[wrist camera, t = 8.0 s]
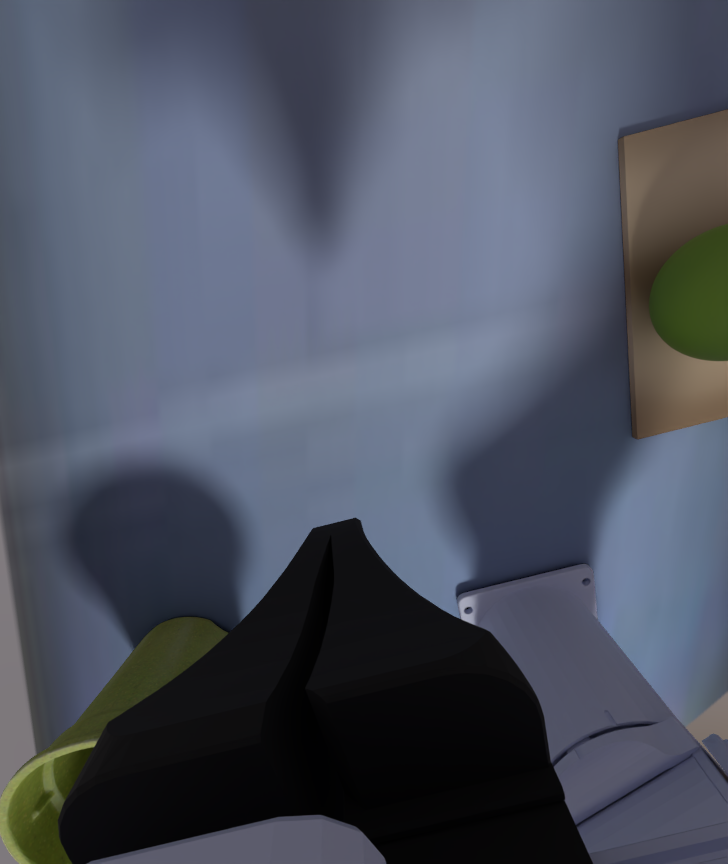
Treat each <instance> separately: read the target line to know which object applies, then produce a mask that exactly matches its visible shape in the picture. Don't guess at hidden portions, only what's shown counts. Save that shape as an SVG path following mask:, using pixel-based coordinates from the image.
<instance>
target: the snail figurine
mask: <svg viewBox="0 0 728 864" xmlns="http://www.w3.org/2000/svg"><path fill="white" fill-rule="evenodd" d="M649 313H650V318H651V321H652V324H653V326H654V328H655V330H656V332H657V333H658V335H659V336H660V337H661V339H662V340H663V341H664V342H665V343H666V344H668V345H669V346H670V347H671V348H673V349H674V350H676V351H678V352H680V353H682V354H684V355H687V356H689V357H692V358H696V359H701V360H707V361H728V224H725V225H721V226H718V227H715V228H713V229H710V230H708V231H706V232H704V233H702V234H700V235H698V236H696V237H694V238H693V239H691V240H690V241H688V242H687V243H685V244H684V245H683V246H681V247H680V248H679V249H678V250H677V251H676V252H675V253H674V254H673V255H672V256H671V257H670V258H669V259H668V260H667V261H666V262H665V264H664V265H663V266H662V268H661V269H660V271H659V272H658V274H657V276H656V278H655V280H654V283H653V285H652V288H651V292H650V297H649Z"/></svg>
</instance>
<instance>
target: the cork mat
mask: <svg viewBox="0 0 728 864" xmlns="http://www.w3.org/2000/svg"><path fill="white" fill-rule="evenodd" d="M618 150H619V171H620V191H621V212H622V233H623V253H624V274H625V294H626V315H627V335H628V356H629V377H630V397H631V418H632V437H633V438H635V439H641V438H645V437H649V436H654V435H658V434H662V433H666V432H670V431H674V430H678V429H682V428H686V427H690V426H694V425H698V424H702V423H706V422H710V421H714V420H718V419H722V418H726V417H728V361H707V360H701V359H696V358H692V357H689V356H687V355H684V354H682V353H680V352H678V351H676V350H674V349H673V348H671V347H670V346H669V345H668V344H666V343H665V342H664V341H663V340H662V339H661V337H660V336H659V335H658V333H657V332H656V330H655V328H654V326H653V324H652V321H651V318H650V313H649V297H650V292H651V288H652V285H653V283H654V280H655V278H656V276H657V274H658V272H659V271H660V269H661V268H662V266H663V265H664V264H665V262H666V261H667V260H668V259H669V258H670V257H671V256H672V255H673V254H674V253H675V252H676V251H677V250H678V249H679V248H680V247H681V246H683V245H684V244H685V243H687V242H688V241H690V240H691V239H693V238H694V237H696V236H698V235H700V234H702V233H704V232H706V231H708V230H710V229H713V228H715V227H718V226H721V225H725V224H728V109H727V110H723V111H719V112H716V113H712V114H708V115H704V116H700V117H697V118H693V119H689V120H685V121H681V122H677V123H674V124H670V125H666V126H662V127H658V128H655V129H651V130H647V131H643V132H639V133H635V134H632V135H628V136H624V137H622V138H620V139H619V140H618Z"/></svg>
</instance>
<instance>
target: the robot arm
mask: <svg viewBox="0 0 728 864" xmlns="http://www.w3.org/2000/svg"><path fill="white" fill-rule="evenodd" d="M585 578H586V580H585V581H583V579H585ZM457 604H458V609H459V613H460V618H461V619H459V618H456V617H454V616H453V615H451V614H449V613H447V612H445V611H443V610H442V609H440V608H439V607H437V606H436V605H434V604H433V603H431V602H430V601H428V600H426V599H425V598H423V597H422V596H420V595H419V594H418V593H417V592H415V591H414V590H413V589H411V588H410V587H409V586H408V585H407V584H406V583H404V582H403V581H402V580H401V579H400V578H399V577H398V576H397V575H396V574H395V573H394V572H393V571H392V570H391V569H390V568H389V567H388V566H387V565H386V564H385V562H384V561H383V560H382V559H381V558H380V557H379V555H378V554H377V553H376V551H375V550H374V548H373V547H372V546H371V544H370V543H369V541H368V540H367V538H366V536H365V534H364V531H363V528H362V524H361V521H360V520H359V519H357V518H352V519H348V520H344V521H340V522H336V523H332V524H328V525H324V526H320V527H316V528H313V529H312V530H311V532H310V533H309V535H308V536H307V538H306V539H305V541H304V543H303V544H302V546H301V547H300V549H299V550H298V552H297V553H296V555H295V556H294V558H293V559H292V561H291V562H290V563H289V565H288V566H287V568H286V569H285V571H284V572H283V573H282V575H281V576H280V577H279V578H278V580H277V581H276V582H275V584H274V585H273V586H272V587H271V589H270V590H269V591H268V593H267V594H266V595H265V596H264V597H263V599H262V600H261V601H260V602H259V603H258V604H257V605H256V606H255V608H254V609H253V610H252V611H251V612H250V613H249V614H248V615H247V616H246V617H245V618H244V619H243V620H242V621H241V622H240V623H239V624H238V625H237V626H236V627H235V628H234V629H233V630H232V631H231V632H230V633H228V634H227V635H226V636H225V637H224V638H223V639H222V640H221V641H220V642H218V643H217V644H216V645H215V646H214V647H213V648H212V649H211V650H210V651H208V652H207V653H206V654H205V655H204V656H202V657H201V658H200V659H199V660H197V661H196V662H195V663H194V664H192V665H191V666H190V667H189V668H187V669H186V670H185V671H183V672H182V673H181V674H179V675H178V676H177V677H175V678H174V679H173V680H171V681H170V682H168V683H167V684H166V685H164V686H163V687H161V688H160V689H159V690H157V691H156V692H154V693H152V694H151V695H149V696H148V697H146V698H145V699H143V700H142V701H140V702H139V703H137V704H136V705H134V706H133V707H131V708H130V709H128V710H126V711H125V712H123V713H122V714H120V715H119V716H117V717H115V718H114V719H112V720H111V721H109V722H108V723H107V725H106V727H105V728H104V730H103V732H102V734H101V736H100V737H99V739H98V741H97V743H96V745H95V747H94V748H93V750H92V752H91V754H90V756H89V758H88V759H87V761H86V763H85V765H84V767H83V769H82V770H81V772H80V774H79V776H78V778H77V780H76V781H75V783H74V785H73V787H72V789H71V791H70V792H69V794H68V796H67V798H66V800H65V802H64V803H63V806H62V809H61V812H60V815H59V818H58V831H59V839H60V842H61V844H62V846H63V848H64V850H65V852H66V854H67V856H68V858H69V860H70V861H71V862H72V864H728V740H727V739H725V740H722V739H721V738H720V737H719V736H718V735H716V734H711V735H710V736H709V737H707V738H706V739H704V740H702V742H703V744H704V745H705V746H706V748H707V749H708V750H709V752H710V753H711V754H712V755H713V757H714V758H715V759H716V760H717V762H718V763H719V764H720V765H719V764H718V763H717V762H716V761H715V760H714V759H713V758H712V757H711V755H710V754H709V753H708V752H707V751H706V750H705V749H704V748H703V747H702V745H701V744H700V743H699V742H698V741H697V740H696V739H695V738H694V737H693V735H692V734H691V733H690V732H689V731H688V730H687V729H686V728H685V727H684V726H683V724H682V723H681V722H680V721H679V720H678V719H677V718H676V716H675V715H674V714H673V713H672V712H671V710H670V709H669V708H668V707H667V705H666V704H665V703H664V702H663V700H662V699H661V698H660V697H659V695H658V694H657V693H656V692H655V690H654V689H653V688H652V687H651V685H650V684H649V683H648V682H647V681H646V679H645V678H644V677H643V676H642V674H641V673H640V672H639V671H638V669H637V668H636V667H635V666H634V664H633V663H632V662H631V661H630V659H629V658H628V657H627V656H626V655H625V653H624V652H623V651H622V650H621V648H620V647H619V646H618V645H617V643H616V642H615V641H614V640H613V638H612V637H611V636H610V635H609V633H608V632H607V631H606V630H605V629H604V627H603V626H602V625H601V624H600V622H599V621H598V617H597V606H596V595H595V583H594V572H593V570H592V569H591V567H590V566H589V565H587V564H580V565H576V566H572V567H567V568H563V569H559V570H555V571H551V572H547V573H543V574H539V575H535V576H531V577H527V578H522V579H518V580H514V581H510V582H506V583H502V584H498V585H494V586H490V587H486V588H481V589H477V590H473V591H469V592H465V593H462V594H460V595H459V596H458V598H457ZM467 607H470V608H469V609H467V610H465V608H467ZM722 768H723V769H724V770H723V769H722Z"/></svg>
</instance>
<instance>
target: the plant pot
mask: <svg viewBox="0 0 728 864" xmlns="http://www.w3.org/2000/svg"><path fill="white" fill-rule="evenodd" d="M227 634H228V632H226V631H224V630H222V629H221V628H219V627H218V626H217V625H215V624H214V623H213V622H212V621H211V620H208V619H204V618H199V617H179V618H174V619H171V620H167V621H165V622H163V623H160V624H159V625H157V626H156V627H155V628H153V629H152V630H151V631H150V632H149V633H148V634H147V635H146V636H145V637H144V638H143V639H142V641H141V642H140V643H139V644H138V646H137V647H136V648H135V649H134V650H133V652H132V653H131V654H130V656H129V657H128V658H127V659H126V661H125V662H124V663H123V665H122V666H121V667H120V668H119V670H118V671H117V672H116V673H115V675H114V676H113V677H112V678H111V680H110V681H109V682H108V683H107V685H106V686H105V687H104V688H103V690H102V691H101V692H100V693H99V694H98V696H97V697H96V698H95V699H94V701H93V702H92V703H91V704H90V706H89V707H88V708H87V709H86V710H85V712H84V713H83V714H82V715H81V717H80V718H79V719H78V720H77V722H76V723H75V724H74V725H73V726H72V727H70V728H69V729H67V730H66V731H65V732H64V733H62V734H61V735H60V736H59V737H58V738H57V739H56V740H55V741H54V742H53V743H52V745H51V746H50V747H49V748H47V749H46V750H44V751H42V752H40V753H39V754H37V755H36V756H34V757H33V758H31V759H30V760H29V761H28V762H27V763H25V764H24V765H23V766H22V767H21V768H20V769H19V770H18V771H17V772H16V774H15V775H14V776H13V777H12V779H11V780H10V781H9V783H8V784H7V786H6V788H5V789H4V791H3V793H2V795H1V798H0V835H1V838H2V840H3V842H4V844H5V846H6V848H7V849H8V851H9V853H10V854H11V855H12V856H13V858H14V859H15V860H16V861H17V862H18V863H19V864H72V862H71V861H70V860H69V858H68V856H67V854H66V852H65V850H64V848H63V846H62V844H61V842H60V839H59V831H58V818H59V815H60V812H61V809H62V806H63V803H64V802H65V800H66V798H67V796H68V794H69V792H70V791H71V789H72V787H73V785H74V783H75V781H76V780H77V778H78V776H79V774H80V772H81V770H82V769H83V767H84V765H85V763H86V761H87V759H88V758H89V756H90V754H91V752H92V750H93V748H94V747H95V745H96V743H97V741H98V739H99V737H100V736H101V734H102V732H103V730H104V728H105V727H106V725H107V723H108V722H109V721H111V720H112V719H114V718H115V717H117V716H119V715H120V714H122V713H123V712H125V711H126V710H128V709H130V708H131V707H133V706H134V705H136V704H137V703H139V702H140V701H142V700H143V699H145V698H146V697H148V696H149V695H151V694H152V693H154V692H156V691H157V690H159V689H160V688H161V687H163V686H164V685H166V684H167V683H168V682H170V681H171V680H173V679H174V678H175V677H177V676H178V675H179V674H181V673H182V672H183V671H185V670H186V669H187V668H189V667H190V666H191V665H192V664H194V663H195V662H196V661H197V660H199V659H200V658H201V657H202V656H204V655H205V654H206V653H207V652H208V651H210V650H211V649H212V648H213V647H214V646H215V645H216V644H217V643H218V642H220V641H221V640H222V639H223V638H224V637H225V636H226V635H227Z"/></svg>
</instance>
